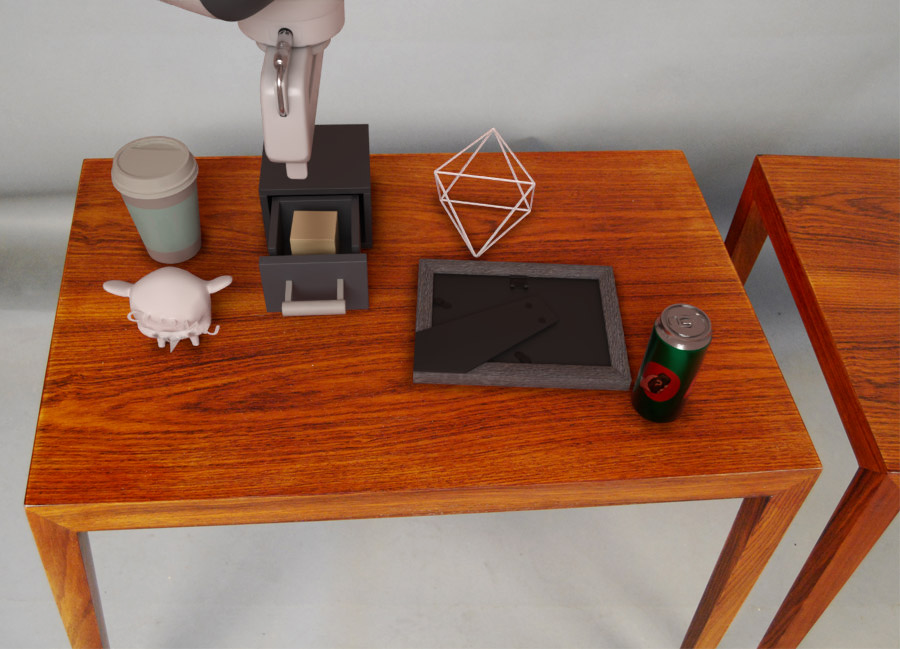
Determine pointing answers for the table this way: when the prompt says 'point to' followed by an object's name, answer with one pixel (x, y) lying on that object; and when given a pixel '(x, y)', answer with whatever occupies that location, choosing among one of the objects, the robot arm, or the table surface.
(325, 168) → the dark grey box
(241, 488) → the table surface
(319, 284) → the open drawer with handle
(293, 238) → the block
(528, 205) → the geometric polyhedron
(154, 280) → the figurine
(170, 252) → the coffee cup
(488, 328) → the picture frame
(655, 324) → the soda can
